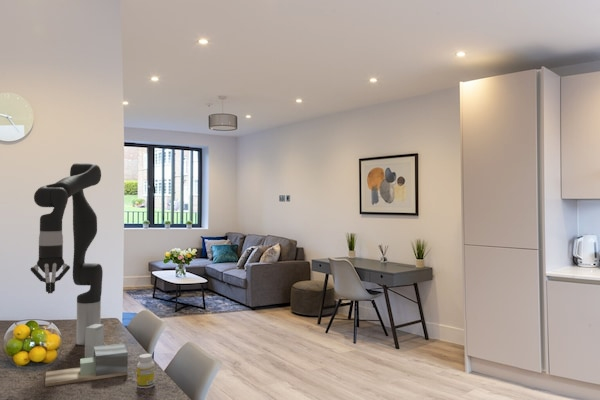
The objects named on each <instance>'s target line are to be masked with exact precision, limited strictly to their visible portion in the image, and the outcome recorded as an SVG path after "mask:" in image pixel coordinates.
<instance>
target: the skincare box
mask: <svg viewBox="0 0 600 400" xmlns="http://www.w3.org/2000/svg"><path fill="white" fill-rule="evenodd" d="M104 338H105V324H102V323H101V324H94V325H91V326H89V327H86V328H85V345H84V358H91V357H94V346H103V345H105V344H104V341H105V339H104Z"/></svg>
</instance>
